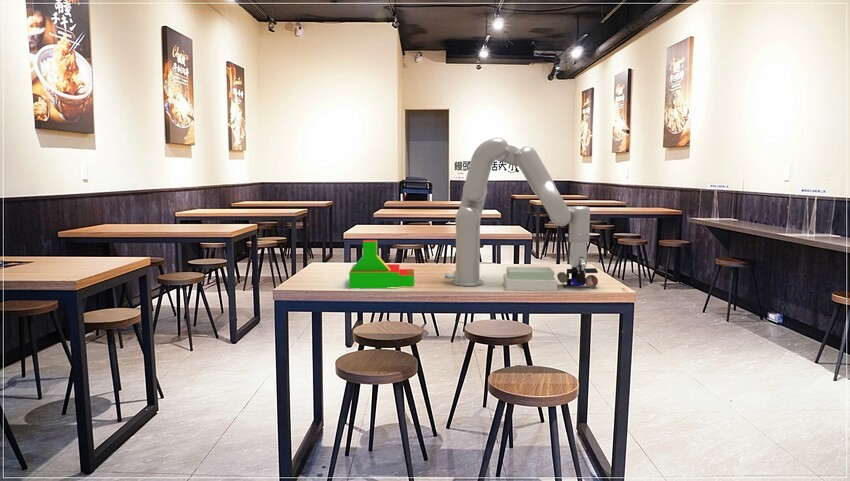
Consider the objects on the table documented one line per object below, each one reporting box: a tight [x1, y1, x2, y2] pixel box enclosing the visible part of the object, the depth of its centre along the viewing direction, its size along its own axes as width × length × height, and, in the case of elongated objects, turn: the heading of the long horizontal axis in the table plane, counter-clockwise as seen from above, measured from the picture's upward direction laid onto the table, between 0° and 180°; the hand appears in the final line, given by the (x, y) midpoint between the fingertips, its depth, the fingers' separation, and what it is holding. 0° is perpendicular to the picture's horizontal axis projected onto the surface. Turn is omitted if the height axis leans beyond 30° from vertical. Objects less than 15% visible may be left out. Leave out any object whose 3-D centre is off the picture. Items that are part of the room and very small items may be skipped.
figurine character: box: [556, 267, 599, 289], centre depth 228 cm, size 7×8×15 cm
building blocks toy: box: [348, 239, 415, 289], centre depth 233 cm, size 19×25×18 cm
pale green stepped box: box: [503, 266, 558, 292], centre depth 227 cm, size 19×13×7 cm
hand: (578, 281), depth 228 cm, fingers open, 9 cm apart
